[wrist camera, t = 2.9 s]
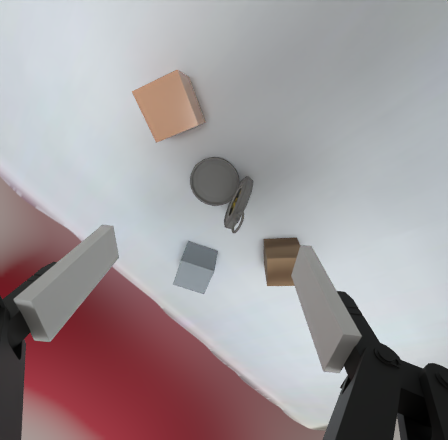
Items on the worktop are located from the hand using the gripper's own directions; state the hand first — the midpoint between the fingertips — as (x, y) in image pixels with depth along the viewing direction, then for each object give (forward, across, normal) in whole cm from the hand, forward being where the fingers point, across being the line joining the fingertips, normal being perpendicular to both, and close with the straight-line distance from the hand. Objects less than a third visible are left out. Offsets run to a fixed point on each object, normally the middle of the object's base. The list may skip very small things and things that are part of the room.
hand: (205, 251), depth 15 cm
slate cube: (+16, -3, -13) cm, 21 cm away
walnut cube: (+16, +10, -10) cm, 22 cm away
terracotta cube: (+16, -6, +9) cm, 19 cm away
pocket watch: (+16, 0, 0) cm, 16 cm away
